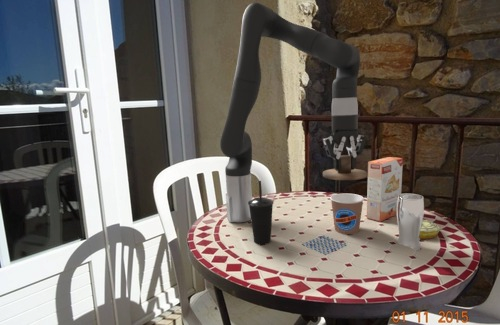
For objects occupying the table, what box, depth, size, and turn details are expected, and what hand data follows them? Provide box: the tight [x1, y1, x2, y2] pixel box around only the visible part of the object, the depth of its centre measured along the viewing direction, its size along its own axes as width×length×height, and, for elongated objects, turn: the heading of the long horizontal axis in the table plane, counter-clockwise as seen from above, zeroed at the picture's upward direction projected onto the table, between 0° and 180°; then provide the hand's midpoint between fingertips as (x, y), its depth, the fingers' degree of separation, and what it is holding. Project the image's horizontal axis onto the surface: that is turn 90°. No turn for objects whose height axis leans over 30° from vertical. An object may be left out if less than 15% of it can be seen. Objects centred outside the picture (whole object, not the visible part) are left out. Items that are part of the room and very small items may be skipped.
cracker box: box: [366, 156, 404, 222], centre depth 121 cm, size 14×6×21 cm, turn 129°
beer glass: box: [396, 192, 425, 251], centre depth 96 cm, size 7×7×15 cm
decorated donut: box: [419, 219, 441, 240], centre depth 106 cm, size 10×11×4 cm
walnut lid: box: [322, 154, 368, 181], centre depth 103 cm, size 13×13×6 cm
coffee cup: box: [329, 192, 365, 235], centre depth 108 cm, size 10×10×12 cm
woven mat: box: [301, 235, 347, 256], centre depth 98 cm, size 10×11×2 cm
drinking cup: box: [248, 180, 275, 245], centre depth 101 cm, size 8×8×20 cm
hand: (344, 169), depth 103 cm, fingers closed on walnut lid, 4 cm apart
